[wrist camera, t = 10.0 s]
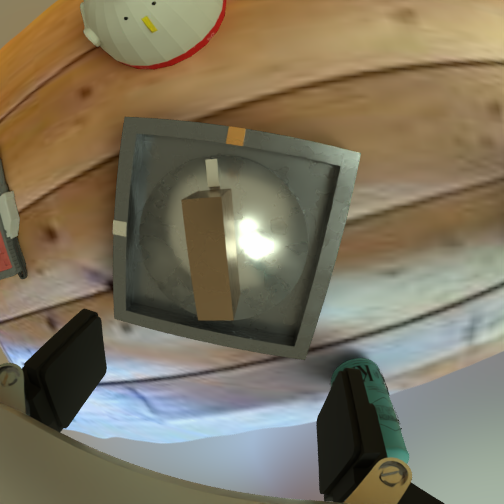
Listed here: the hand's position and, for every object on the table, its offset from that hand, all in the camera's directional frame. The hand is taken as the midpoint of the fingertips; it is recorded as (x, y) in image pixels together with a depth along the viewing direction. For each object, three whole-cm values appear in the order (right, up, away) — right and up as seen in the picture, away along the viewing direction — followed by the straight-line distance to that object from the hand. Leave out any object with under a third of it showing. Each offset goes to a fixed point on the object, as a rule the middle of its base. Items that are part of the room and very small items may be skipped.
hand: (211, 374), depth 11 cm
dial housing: (-1, +6, +21) cm, 21 cm away
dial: (-1, +6, +18) cm, 19 cm away
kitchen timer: (-8, +30, +14) cm, 34 cm away
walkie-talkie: (-34, +10, +23) cm, 42 cm away
